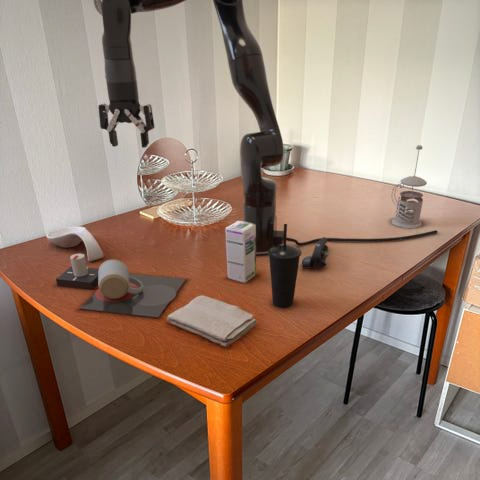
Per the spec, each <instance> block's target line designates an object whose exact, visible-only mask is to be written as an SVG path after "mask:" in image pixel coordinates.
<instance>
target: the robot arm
mask: <svg viewBox="0 0 480 480" xmlns="http://www.w3.org/2000/svg"><path fill="white" fill-rule="evenodd" d="M92 1H93V2H92V3H93V6H94V8H95V10H96V12H97V13H98V14H99V15H100V16H101V17H102V26H103V32H102V34H101V46H102V47H101V48H102V54H103V60H104V77H105V82H106V90H107V97H108V101H109V104H106V103H101V104H99V105H98V107H97V109H98V117H99V124H100V129H101V130H106V131H107V132H108V138H109V143H110V145H111V146H112V147H114V148H115V147H117V146H119V140H118V134H117V130H116V128H117V127H118V125H119V124H124V123H127V124H133V125H134V126H135V127H137V129H138V130H139V132H140V143H141V148H143V149H144V148H145V149H146V148H147V147H148V145H149V144H150V138H149V137H150V136H149V131H153V129H155V121H154V114H153V107H152V105H151V104H149V103H147V104H145V105H144V104H143V105H141V104H140V98H139V89H138V79H137V71H136V70H137V69H136V65H135V59H134V52H133V45H132V39H131V38H132V35H131V34H132V15H133V14H137V13H149V12H155V11H160V10H165V9H168V8H173V7H175V6H177V5H179V4H182V3H184V2H186V1H187V0H92ZM243 2H244V0H212V3H213V6H214V9H215V12H216V15H217V18H218V22H219V26H220V30H221V35H222V40H223V44H224V45H223V46H224V49H225V54H226V60H227V65H228V70H229V74H230V80H231V84H232V85H233V88H234V90H235V91H236V93H237V94H238V95H239V97H240V98H241V99H242V101H243V102H244V103H245V104H246V105H247V107H248V108H249V109H250V111H251V112H252V114H253V115H254V117H255V119H256V122H257V125H258V129H259V131H257V132H249V133H246V134H244V135H243V136H242V138H241V140H240V146H239V157H240V174H241V175H240V176H241V183H242V187H243V221H244V222H250V223H253V224H255V225H256V256H264V255H268V249H269V248H271V247H273V246H276V245H280V244H283V238H284V230H278V216H277V182H276V181H275V180H274V179H271V178H268V177H264V176H262V175H263V174H262V169H264V168H271V167H275V166H279V165H280V164H281V163H282V162H283V159H284V157H285V156H284V155H285V147H284V140H283V136H282V133H281V129H280V125H279V122H278V119H277V115H276V112H275V108H274V105H273V100H272V97H271V91H270V86H269V82H268V77H267V76H268V75H267V71H266V65H265V61H264V56H263V52H262V49H261V46H260V44H259V42H258V40H257V39H256V37H255V36H254V34H253V33H252V30H250V28H249V25H248V22H247V19H246V15H245V9H244V3H243ZM109 112H110V113H111V115H112V117H111V118H110V120H109ZM141 112H142V114H143V115H144V119H143V118H142V116H141V115H140V113H141ZM144 120H145V121H144ZM437 233H438V230H436V229H435V230H431V231H427V232H422V233H416V234H412V235H411V234H410V235H406V236H405V235H404V236H397V237H386V238H385V237H384V238H383V237H382V238H338V237H326V238H327V239H328V240H327V242H353V243H354V242H357V243H360V242H361V243H365V242H367V243H368V242H369V243H372V242H374V243H375V242H392V241H393V242H394V241H403V240H408V239H414V238H419V237H420V238H421V237H425V236H429V235H433V234H437ZM321 238H322V237H321ZM321 238H313V239H311V240H308V241H304V242H299V240H297V239H295V238H291V237H287V239H286V242H292V243H294V244H295V246H298V247H299V246H306V245H311V244H313V243H317V242H318V241H319V240H320V239H321Z"/></svg>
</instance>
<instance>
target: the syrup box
mask: <svg viewBox="0 0 480 480" xmlns="http://www.w3.org/2000/svg"><path fill="white" fill-rule="evenodd" d="M224 230H225V249H226V250H225V251H226V269H227V279H230V280H233V281H236V282H240V283H244V284H246V283H247V282H248V281H249V280H251V279H252V278H254V277H255V276H256V275H257V255H256V225H255V224H253V223H250V222H244V220H242V221H241V220H236V221H235V222H234V223H232V224H230V225H227V226H226V227H225V229H224Z"/></svg>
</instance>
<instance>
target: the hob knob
mask: <svg viewBox="0 0 480 480" xmlns="http://www.w3.org/2000/svg"><path fill="white" fill-rule="evenodd" d="M69 259H70V263H71V266H72V269H73V273H74V276H76V277H82V276H85V275H87V274H88V270H87V267H88V266H87V260H86V255H85V254H84V253H74V254H72V255H70V256H69Z"/></svg>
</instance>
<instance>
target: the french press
mask: <svg viewBox="0 0 480 480" xmlns="http://www.w3.org/2000/svg"><path fill="white" fill-rule="evenodd" d="M415 150H418V152H417V157H416V163H415V169H414V175H410V176H409V175H408V176H406V177H403V178H402V179H400V183H397V184H395V185H394V187H393V188H392V190H391V201H392V203H393V204H394V206H396V211H395V217H394V218H393V219H392V220H391V224H392V225H394V226H396V227H399V228H404V229H417V228H420V227H421V226H423V224H422V221H421V219H420V218H421V213H422V207H423V203H424V198H423V197H424V194H423V193H422V192H419V191H414V190H413V189H414V187H417V188H420V187H425V186H426V185H427V184H428V182H427V181H426V180H425V179H424V178H422V177H419V176H417V175H416V173H417V166H418V161H419V155H420V151H421V150H423V145H421V144H418V145H417V146H416V147H415ZM405 186H408V187H411V190H404V191H401V192H399V195H400V196H398V198H396V191H397V188H398V187H399V188H400V189H402V188H404V187H405ZM393 193H394V194H393ZM393 195H394V199H393ZM394 200H395V202H394Z"/></svg>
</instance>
